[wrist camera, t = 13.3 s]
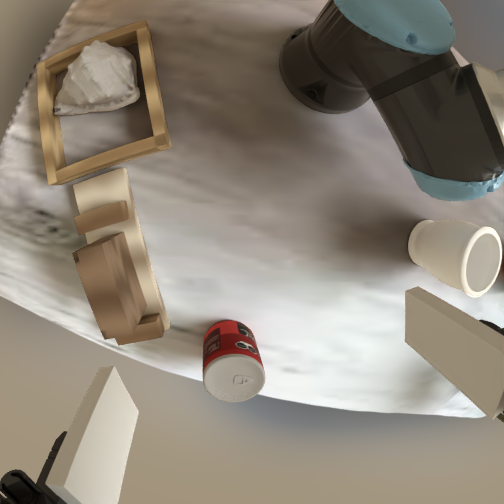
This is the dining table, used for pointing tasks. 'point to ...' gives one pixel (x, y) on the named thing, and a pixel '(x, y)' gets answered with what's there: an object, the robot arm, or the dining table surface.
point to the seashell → (98, 81)
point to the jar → (457, 253)
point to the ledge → (126, 220)
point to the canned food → (232, 362)
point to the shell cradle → (50, 121)
